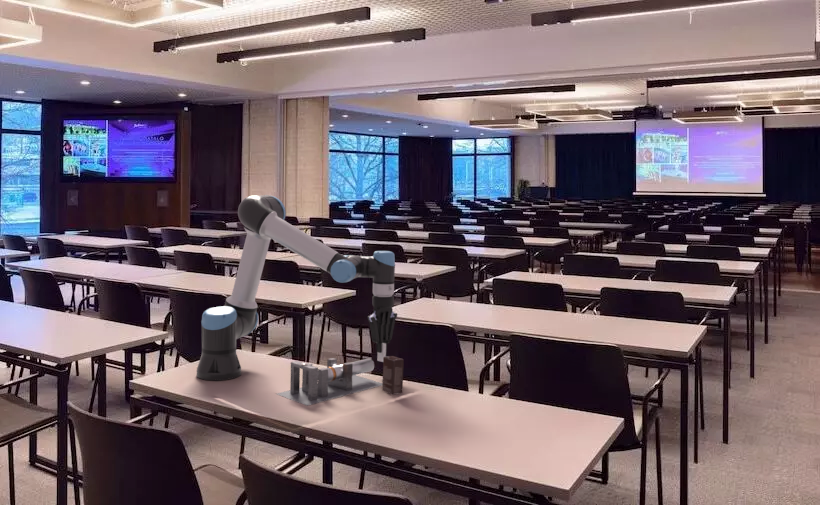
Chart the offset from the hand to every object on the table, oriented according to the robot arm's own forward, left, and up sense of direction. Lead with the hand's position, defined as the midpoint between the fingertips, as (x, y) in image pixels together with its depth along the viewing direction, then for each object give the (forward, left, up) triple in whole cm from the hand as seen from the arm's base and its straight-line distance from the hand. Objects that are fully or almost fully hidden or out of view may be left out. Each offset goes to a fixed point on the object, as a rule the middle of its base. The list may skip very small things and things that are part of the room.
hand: (381, 360), depth 242 cm
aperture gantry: (0, -35, -6) cm, 35 cm away
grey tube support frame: (0, -20, -6) cm, 20 cm away
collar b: (0, -30, -6) cm, 31 cm away
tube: (0, -17, -3) cm, 17 cm away
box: (+15, -10, -7) cm, 19 cm away
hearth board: (0, -23, -6) cm, 24 cm away
